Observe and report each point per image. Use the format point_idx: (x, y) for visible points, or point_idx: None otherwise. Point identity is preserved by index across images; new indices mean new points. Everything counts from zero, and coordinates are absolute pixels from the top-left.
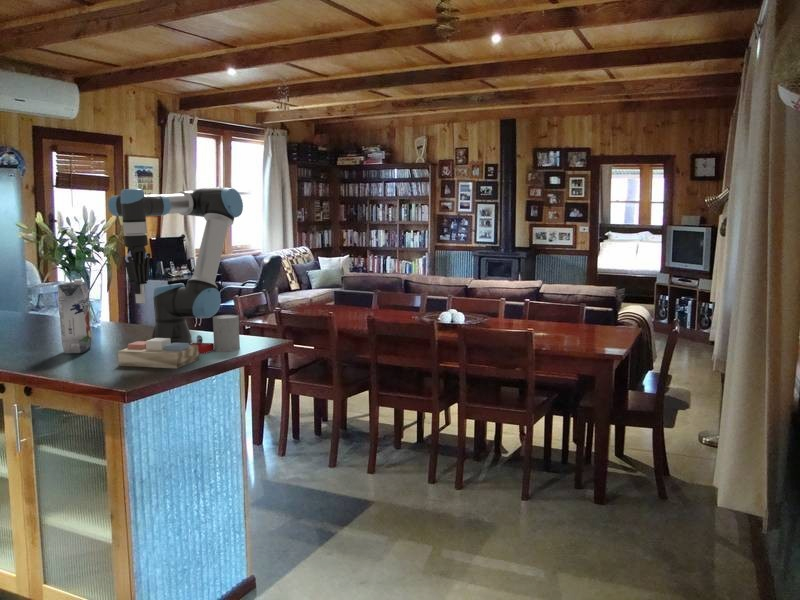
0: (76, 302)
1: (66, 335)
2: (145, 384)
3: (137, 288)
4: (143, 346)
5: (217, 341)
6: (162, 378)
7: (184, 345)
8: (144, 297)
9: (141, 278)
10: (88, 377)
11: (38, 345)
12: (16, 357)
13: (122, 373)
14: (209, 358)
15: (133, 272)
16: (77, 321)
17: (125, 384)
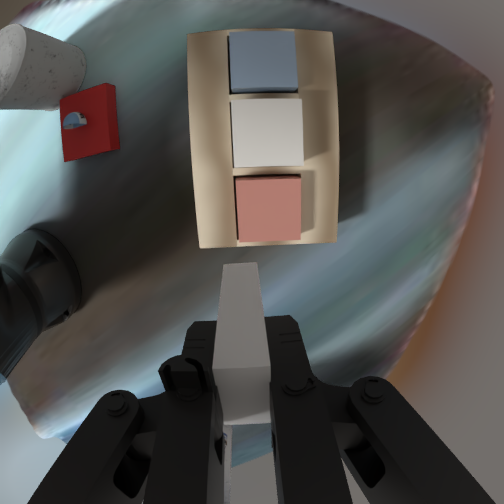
0: None
1: (230, 434)
2: (458, 64)
3: (304, 356)
4: (295, 177)
5: (68, 72)
6: (415, 44)
7: (262, 32)
8: (230, 283)
9: (213, 447)
10: (435, 220)
11: None
12: None
13: (399, 163)
14: (175, 31)
15: (475, 480)
16: None
17: (467, 105)
